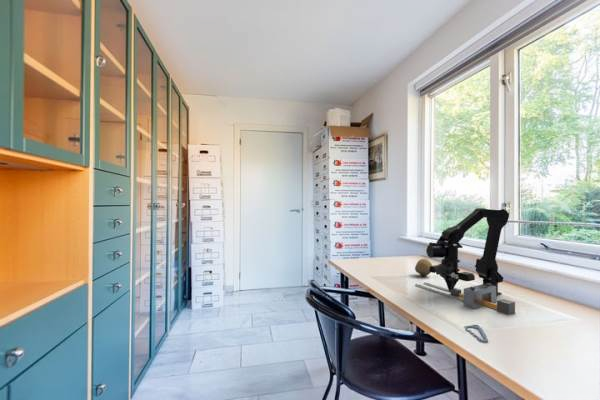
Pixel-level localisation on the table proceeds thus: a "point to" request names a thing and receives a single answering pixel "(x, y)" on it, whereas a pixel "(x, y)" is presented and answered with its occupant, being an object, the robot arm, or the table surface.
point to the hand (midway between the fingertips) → (450, 291)
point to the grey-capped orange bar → (501, 305)
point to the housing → (470, 294)
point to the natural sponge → (423, 267)
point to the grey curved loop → (480, 332)
